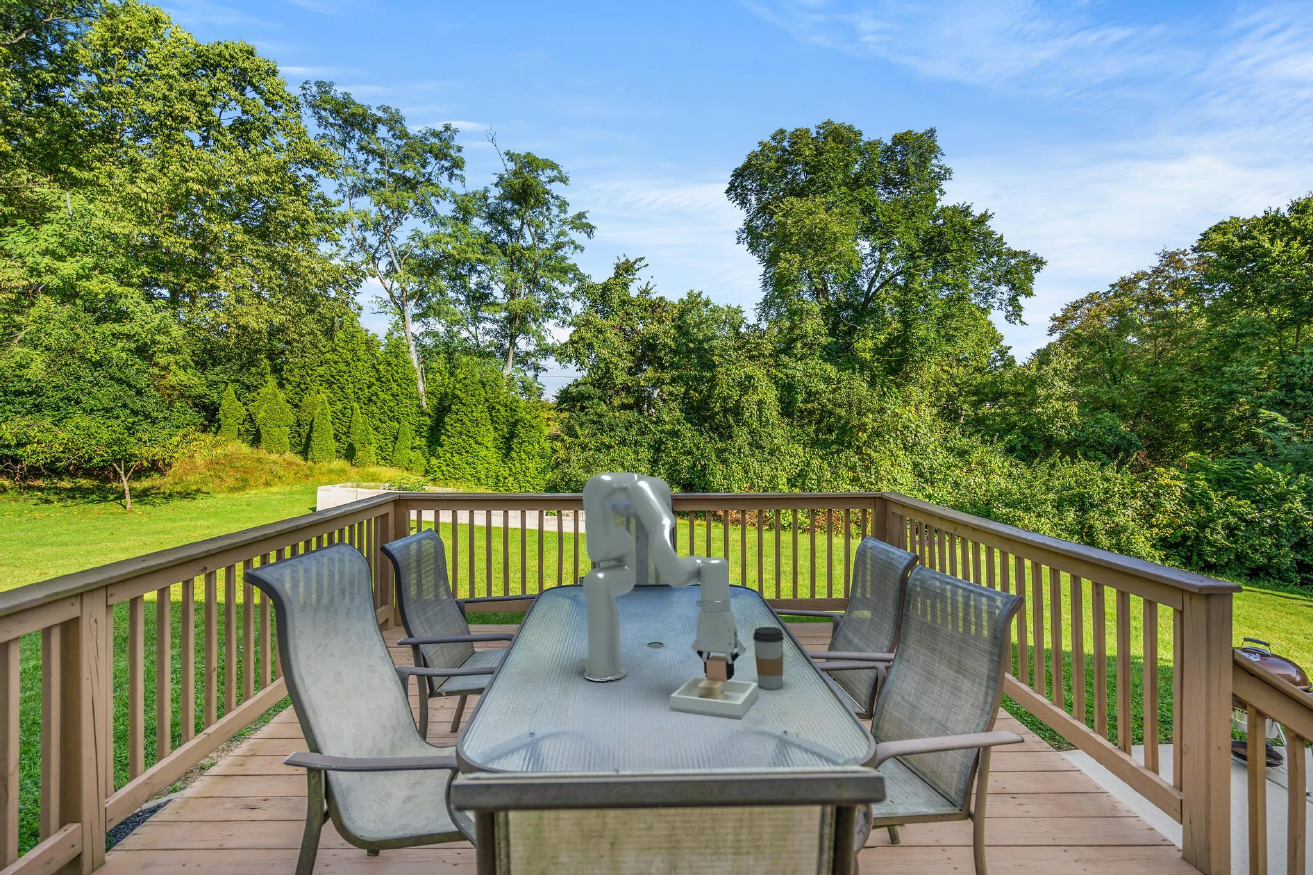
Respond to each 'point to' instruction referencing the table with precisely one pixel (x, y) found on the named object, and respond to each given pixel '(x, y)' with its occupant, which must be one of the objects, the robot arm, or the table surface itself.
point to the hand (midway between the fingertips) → (719, 676)
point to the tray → (733, 706)
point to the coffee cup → (769, 657)
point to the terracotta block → (717, 668)
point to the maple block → (711, 690)
